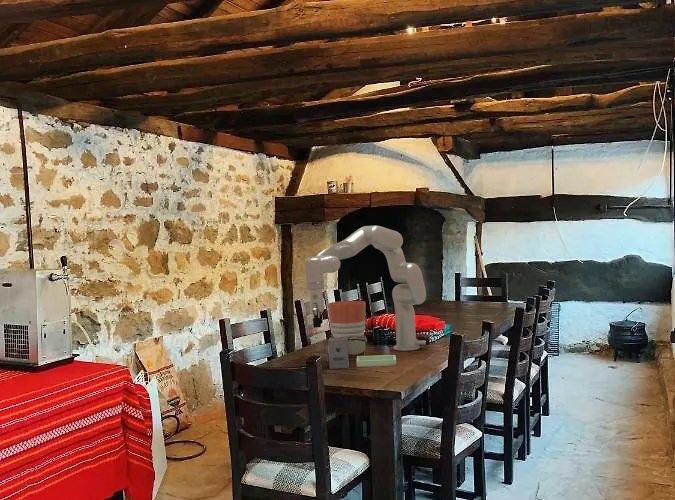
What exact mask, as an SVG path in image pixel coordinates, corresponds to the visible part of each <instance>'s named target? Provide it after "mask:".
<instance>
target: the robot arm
mask: <svg viewBox="0 0 675 500" xmlns="http://www.w3.org/2000/svg"><path fill="white" fill-rule="evenodd" d="M403 244H404V238H403V235H402V234H401V233H400V232H398V231H396V230H392V229H390V228H386V227H383V226H381V225H365V226H364V225H363V226H362V227H360V228H358V229H357V230H356V231H354V232H352V233H351V234H349V236H347V237H346V238H345V239H343V240H342V241H338V242H337V243H335V244H333V245H331V246H329V247H327V248H325V249H323V250H321V251H320V252H319V253H318V254H317V255H315V256H314V257H308V258H305V260H304V269H305V283H306V284H305V285H306V291H309V301H310V310H311V314H312V325H313V328H321V327H322V324H323V323H324V319H323V314H322V313H323V312H324V311H325V304H324V293H323V290H325V282H324V273H325V274H326V273H328V274H332V273H337V271H339V269H340V267H341V260H345V259H349V258H352V257H354V256H356V255H357V254H358V253H360V252H361V251H362V250H364V249H365V248H366V247H368V246H369V245H372V246H373V248H375V249H377V250H379V251H380V252H382V253H383V254H384V257H385V258H386V261H387V266H388V270H389V274H390V277H391V279H392V281H394V282H396V283H398V284H397V285H395V286H394V287H393V289H392V292H391V296H392V300H393V304H394V305H393V306H394V312H395V313H394V319H395V320H394V321H395V335H396V336H395V339H396V340H395V341H396V344H395V345H394V346H393V349H394V350H395V351H400V352H401V351H405V352H408V351H416V350H419V349H420V345H422V346H423V345H426V340H421V339H420V340H418V339H417V337H416V334H417V333H416V314H415V308H414V305H421V304H423V303H425V301H426V297H427V292H426V291H427V290H426V286H425V282H424V275H423V272H422V270H421V268H420V266H419V265H418V264H416V263H414V262H407V261H406V257H405V254H404V251H403V249H402V246H403ZM399 283H400V284H399Z"/></svg>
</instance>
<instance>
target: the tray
mask: <svg viewBox="0 0 675 500" xmlns="http://www.w3.org/2000/svg"><path fill="white" fill-rule="evenodd" d="M355 364H356V367H357V368H364V367H365V368H368V367H369V368H370V367H395V366H397V356H396V354H382V355H381V354H380V355H379V354H378V355H365V356H357V360H356V363H355Z"/></svg>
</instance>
